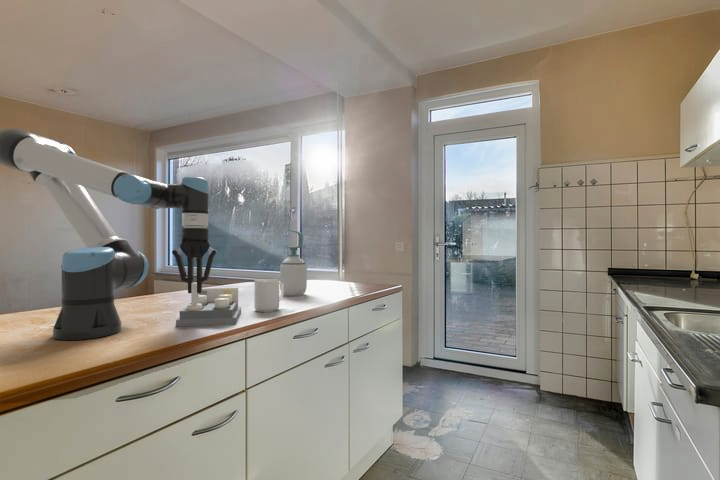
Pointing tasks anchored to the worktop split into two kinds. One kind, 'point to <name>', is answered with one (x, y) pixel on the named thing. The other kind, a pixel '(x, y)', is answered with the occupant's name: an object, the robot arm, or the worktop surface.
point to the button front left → (194, 307)
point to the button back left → (202, 299)
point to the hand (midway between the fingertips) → (194, 303)
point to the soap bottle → (294, 271)
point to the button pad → (211, 310)
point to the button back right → (227, 297)
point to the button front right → (222, 303)
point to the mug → (267, 295)
